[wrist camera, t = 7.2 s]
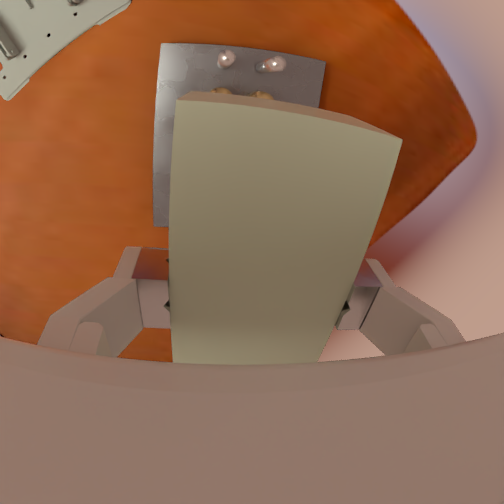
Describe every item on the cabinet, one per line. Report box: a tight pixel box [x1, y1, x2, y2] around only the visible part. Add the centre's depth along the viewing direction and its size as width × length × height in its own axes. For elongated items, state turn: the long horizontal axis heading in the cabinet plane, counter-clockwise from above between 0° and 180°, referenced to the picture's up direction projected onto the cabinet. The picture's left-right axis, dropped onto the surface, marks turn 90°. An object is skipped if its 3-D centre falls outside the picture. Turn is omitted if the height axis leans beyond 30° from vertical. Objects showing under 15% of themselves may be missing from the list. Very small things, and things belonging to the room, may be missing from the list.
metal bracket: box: [0, 0, 131, 101], centre depth 14 cm, size 14×6×15 cm
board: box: [169, 91, 403, 365], centre depth 10 cm, size 10×5×3 cm, turn 172°
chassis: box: [153, 43, 326, 227], centre depth 22 cm, size 16×13×8 cm
